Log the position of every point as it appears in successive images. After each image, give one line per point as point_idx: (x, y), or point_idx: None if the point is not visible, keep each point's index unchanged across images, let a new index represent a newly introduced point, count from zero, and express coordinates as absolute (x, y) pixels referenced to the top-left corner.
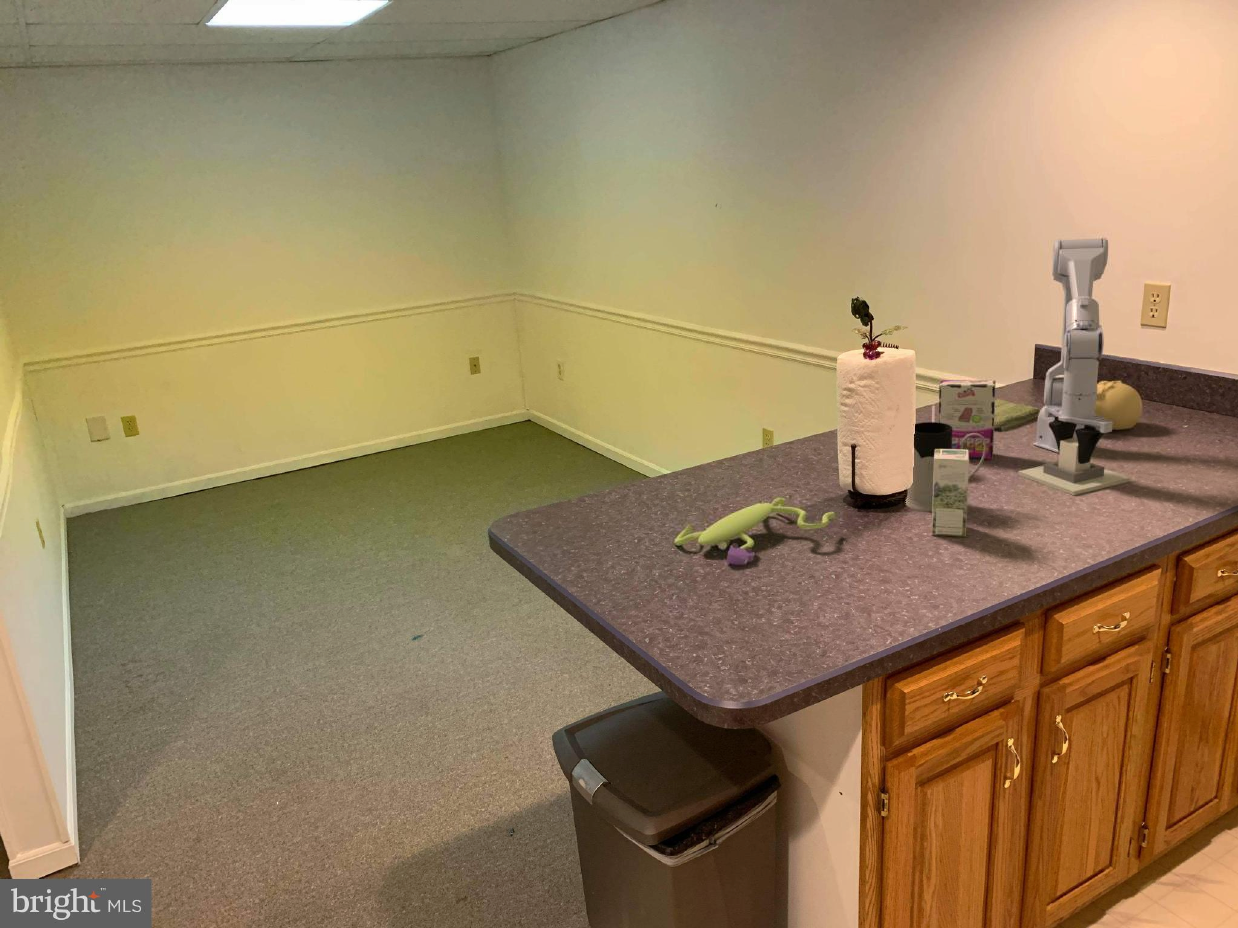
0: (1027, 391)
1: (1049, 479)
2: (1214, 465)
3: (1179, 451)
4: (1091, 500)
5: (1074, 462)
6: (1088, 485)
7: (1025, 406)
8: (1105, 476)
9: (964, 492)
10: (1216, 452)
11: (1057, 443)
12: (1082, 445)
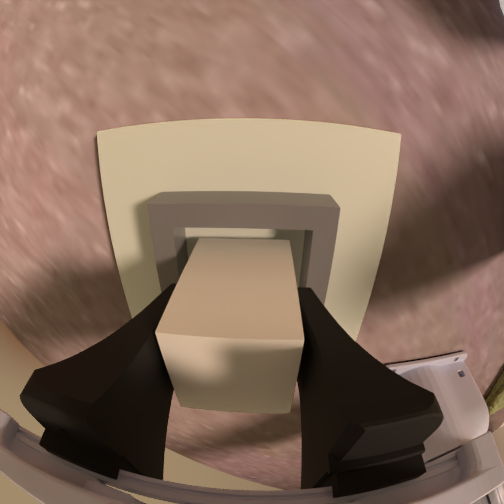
0: (495, 422)
1: (249, 146)
2: (174, 444)
3: (250, 457)
4: (57, 152)
5: (190, 269)
6: (123, 219)
7: (498, 408)
8: None
9: None
10: (219, 465)
11: (333, 326)
12: (110, 338)
